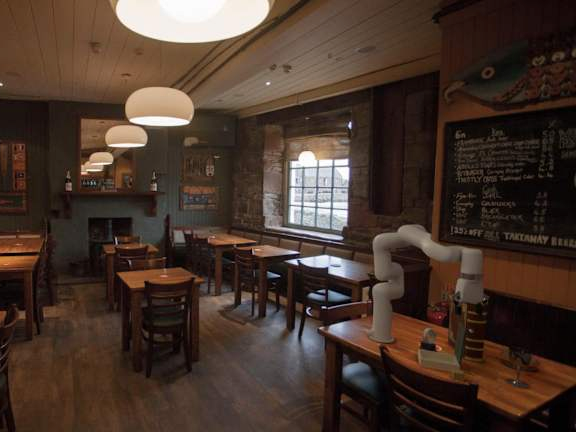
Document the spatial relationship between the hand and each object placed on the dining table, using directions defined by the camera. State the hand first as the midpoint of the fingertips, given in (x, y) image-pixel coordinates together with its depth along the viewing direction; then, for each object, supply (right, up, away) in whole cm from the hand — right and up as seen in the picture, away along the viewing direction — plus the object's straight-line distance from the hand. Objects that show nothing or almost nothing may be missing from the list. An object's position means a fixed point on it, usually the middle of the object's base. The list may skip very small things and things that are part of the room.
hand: (468, 314), depth 174 cm
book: (-6, -27, +13) cm, 31 cm away
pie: (+33, -28, +12) cm, 45 cm away
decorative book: (+18, -27, +27) cm, 42 cm away
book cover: (+2, -15, +9) cm, 18 cm away
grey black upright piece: (+1, -26, +31) cm, 41 cm away
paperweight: (-6, -29, -2) cm, 29 cm away
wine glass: (+18, -29, -5) cm, 35 cm away
